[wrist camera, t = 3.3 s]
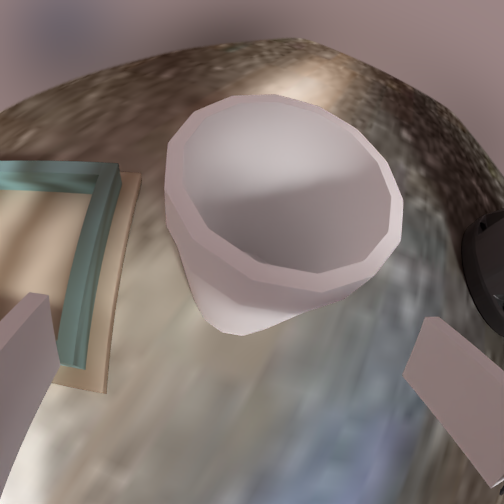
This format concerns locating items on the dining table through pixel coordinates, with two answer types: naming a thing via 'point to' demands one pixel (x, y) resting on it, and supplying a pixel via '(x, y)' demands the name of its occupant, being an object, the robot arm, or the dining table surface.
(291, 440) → the dining table surface
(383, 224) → the foam cup
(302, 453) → the dining table surface
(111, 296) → the plate
